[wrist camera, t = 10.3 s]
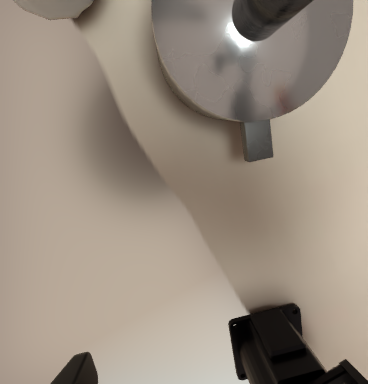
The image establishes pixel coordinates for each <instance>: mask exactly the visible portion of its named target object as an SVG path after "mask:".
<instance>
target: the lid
mask: <svg viewBox="0 0 368 384" xmlns="http://www.w3.org/2000/svg"><path fill="white" fill-rule="evenodd" d="M352 15H353V0H152V26H153V33H154V38H155V42H156V46H157V50H158V53H159V55H160V58H161V61H162V63H163V65H164V67H165V69H166V71H167V73H168V75H169V76H170V78H171V79H172V81H173V82H174V84H175V85H176V86H177V88H178V89H179V90H180V91H181V92H182V93H183V94H184V95H185V96H186V97H187V98H188V99H189V100H190V101H191V102H193V103H194V104H195V105H196V106H198V107H200V108H201V109H203V110H204V111H206V112H208V113H210V114H212V115H214V116H217V117H220V118H223V119H226V120H232V121H238V122H252V121H261V120H268V119H272V118H276V117H279V116H282V115H284V114H286V113H289V112H291V111H293V110H294V109H296V108H298V107H300V106H301V105H303V104H304V103H305V102H307V101H308V100H309V99H310V98H312V97H313V96H314V95H315V94H316V93H317V92H318V91H319V90H320V89H321V88H322V86H323V85H324V84H325V83H326V81H327V80H328V79H329V77H330V76H331V74H332V73H333V71H334V70H335V68H336V66H337V64H338V62H339V60H340V58H341V56H342V54H343V51H344V49H345V46H346V43H347V40H348V36H349V32H350V28H351V22H352Z"/></svg>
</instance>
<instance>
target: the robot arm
mask: <svg viewBox="0 0 368 384" xmlns="http://www.w3.org/2000/svg"><path fill="white" fill-rule="evenodd" d="M293 310H294V311H293ZM234 324H236V325H235V326H233V325H234ZM228 325H229V331H230V336H231V343H232V349H233V355H234V361H235V368H236V373H237V376H238V379H239V380H245V379H248V380H249V383H250V384H368V381H367V380H366V379H365V378H364V377H363V376H362V375H361V374H360V373H359V372H358V371H357V370H356V369H355V368H354V367H353V366H352V365H351V364H350V363H349V362H348V361H347V360H346V359H345V360H343V361H342V362H340V363H339V364H340V365H338V366H336V367H334V368H333V369H331V370H329V371H328V372H327V371H326V369H325V368H324V367H323V365H322V364H321V363H320V361H319V360H318V358H317V357H316V356H315V354H314V353H313V352H312V350H311V349H310V347H309V346H308V345H307V343H306V342H305V341H304V339H303V338H302V325H301V313H300V309H299V307H298V306H297V305H296V304H291V305H287V306H283V307H279V308H275V309H270V310H266V311H262V312H258V313H254V314H250V315H246V316H242V317H238V318H234V319H231V320H230V321H229V324H228ZM51 384H98V375H97V371H96V368H95V365H94V362H93V359H92V356H91V354H90V353H89V352H84V353H81V354H77V355H75V356H74V357H73V358H72V359H71V360H70V361H69V362H68V363H67V365H66V366H65V367H64V368H63V369H62V371H61V372H60V373H59V374H58V375H57V377H56V378H55V379H54V380H53V381H52V382H51Z"/></svg>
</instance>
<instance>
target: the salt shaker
mask: <svg viewBox="0 0 368 384" xmlns="http://www.w3.org/2000/svg"><path fill="white" fill-rule="evenodd" d="M13 1H14V2H15V3H17V4H18V6H20V7H21V8H22V9H24V10H25V11H28V12H31V13H33V14H36V15H39V16H41V17H44V18H46V19H49V20H55V19H66V18H77V17H78V16H79V15H80V14H81V13H82V12H83V10H85V9H86V8H88V7H89V6H90V5H91V4H92V2H93V0H13Z"/></svg>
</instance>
